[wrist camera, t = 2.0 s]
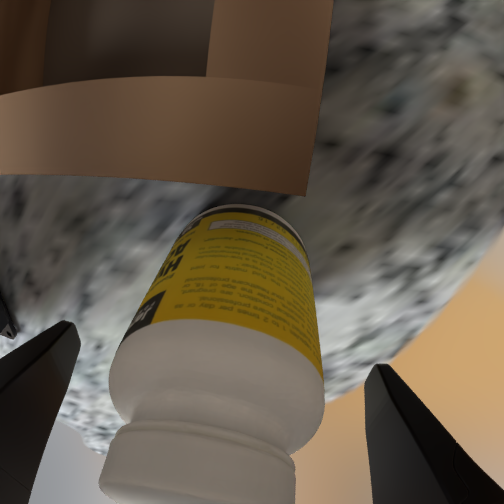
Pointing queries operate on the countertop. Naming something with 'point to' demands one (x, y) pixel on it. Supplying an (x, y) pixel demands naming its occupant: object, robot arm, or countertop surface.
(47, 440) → the robot arm
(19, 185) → the countertop surface
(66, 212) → the countertop surface
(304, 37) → the socket block
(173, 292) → the supplement bottle
